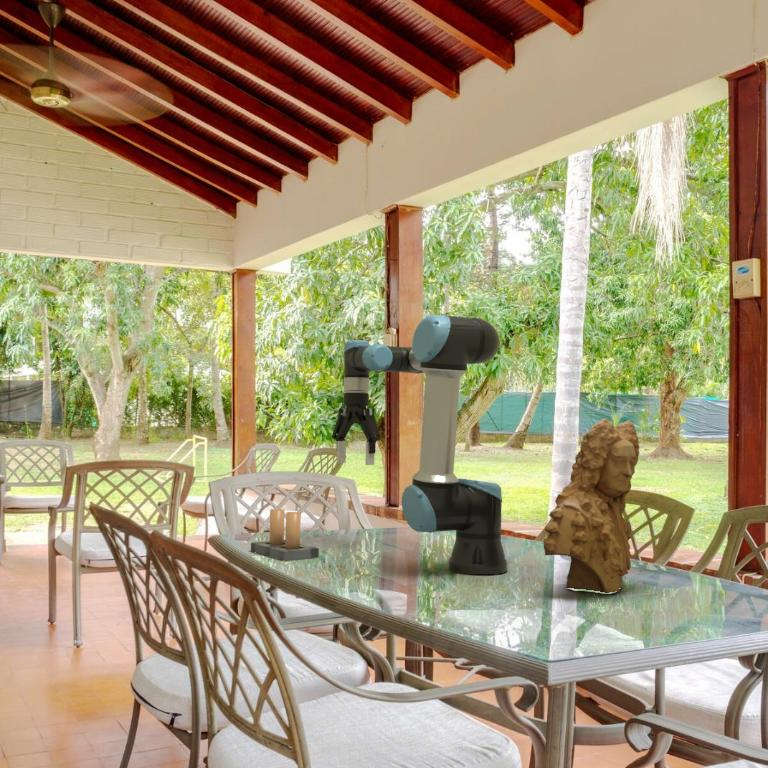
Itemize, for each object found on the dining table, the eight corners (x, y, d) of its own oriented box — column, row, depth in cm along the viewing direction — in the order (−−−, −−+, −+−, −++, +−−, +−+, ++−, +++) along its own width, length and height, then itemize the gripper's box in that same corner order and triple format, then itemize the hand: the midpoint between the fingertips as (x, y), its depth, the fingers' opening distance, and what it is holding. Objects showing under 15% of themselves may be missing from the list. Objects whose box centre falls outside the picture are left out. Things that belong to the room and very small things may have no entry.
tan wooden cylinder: (302, 556, 237) (303, 513, 238) (290, 558, 235) (291, 513, 235) (293, 554, 240) (295, 511, 241) (281, 556, 238) (283, 512, 238)
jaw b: (286, 552, 243) (287, 510, 244) (273, 554, 241) (274, 511, 241) (278, 550, 247) (279, 508, 247) (266, 552, 244) (267, 509, 244)
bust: (610, 607, 183) (613, 418, 184) (532, 596, 192) (535, 416, 193) (652, 581, 212) (653, 418, 213) (582, 573, 221) (584, 417, 223)
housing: (318, 557, 237) (318, 548, 237) (284, 561, 230) (284, 551, 230) (284, 548, 251) (284, 539, 251) (250, 551, 244) (251, 542, 244)
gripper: (393, 392, 250) (392, 465, 249) (340, 393, 269) (339, 461, 268) (373, 391, 245) (372, 466, 244) (321, 392, 264) (320, 462, 263)
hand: (355, 463), depth 256 cm, fingers open, 13 cm apart
